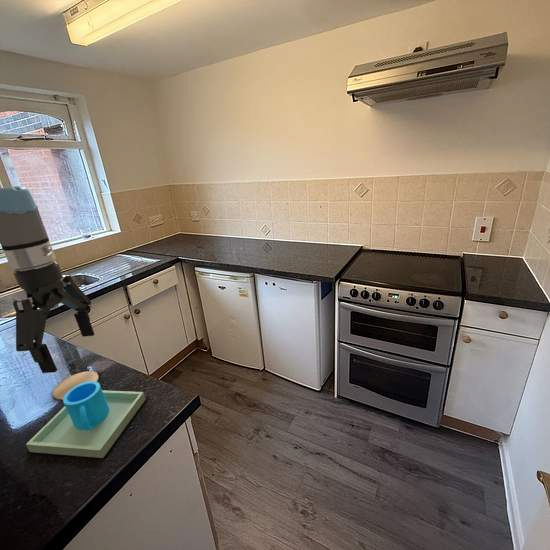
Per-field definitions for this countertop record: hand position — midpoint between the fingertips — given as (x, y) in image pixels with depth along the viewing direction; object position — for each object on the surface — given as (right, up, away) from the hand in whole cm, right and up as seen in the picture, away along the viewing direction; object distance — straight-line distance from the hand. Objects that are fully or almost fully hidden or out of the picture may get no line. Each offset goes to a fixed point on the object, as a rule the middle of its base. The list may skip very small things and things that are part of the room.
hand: (71, 352), depth 69 cm
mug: (0, -20, +8) cm, 22 cm away
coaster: (-14, -16, +23) cm, 31 cm away
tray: (0, -20, +8) cm, 22 cm away
